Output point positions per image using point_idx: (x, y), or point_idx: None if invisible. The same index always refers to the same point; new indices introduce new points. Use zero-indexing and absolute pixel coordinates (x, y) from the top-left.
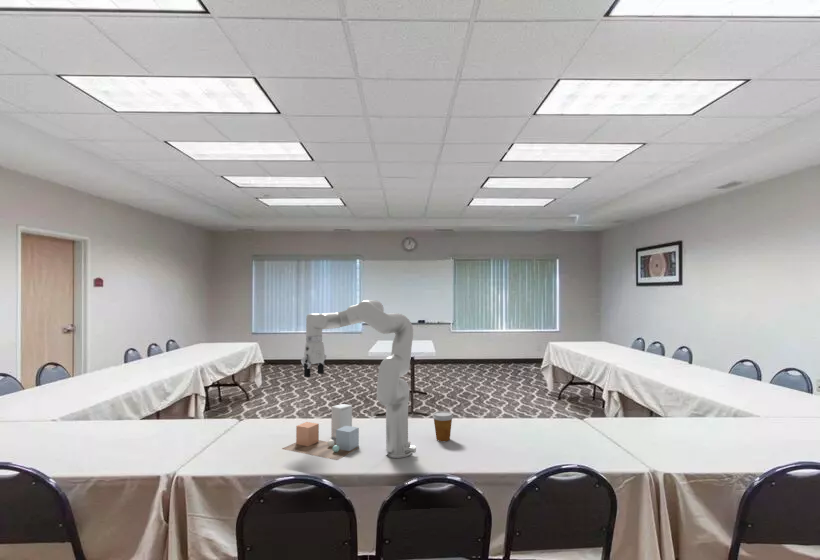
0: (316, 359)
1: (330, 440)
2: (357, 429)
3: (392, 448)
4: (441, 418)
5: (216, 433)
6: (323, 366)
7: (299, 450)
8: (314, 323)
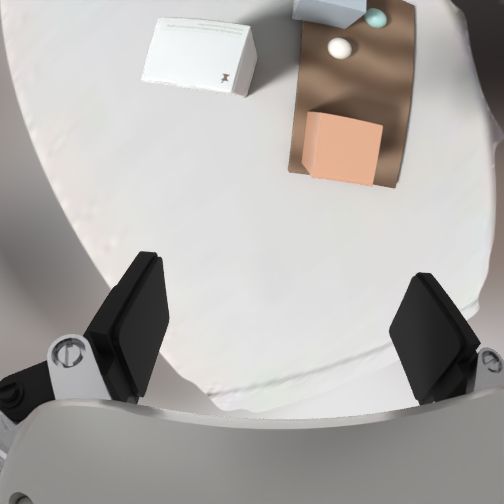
0: (481, 488)
1: (347, 46)
2: None
3: None
4: None
5: (300, 384)
6: (99, 319)
7: (395, 129)
8: None
